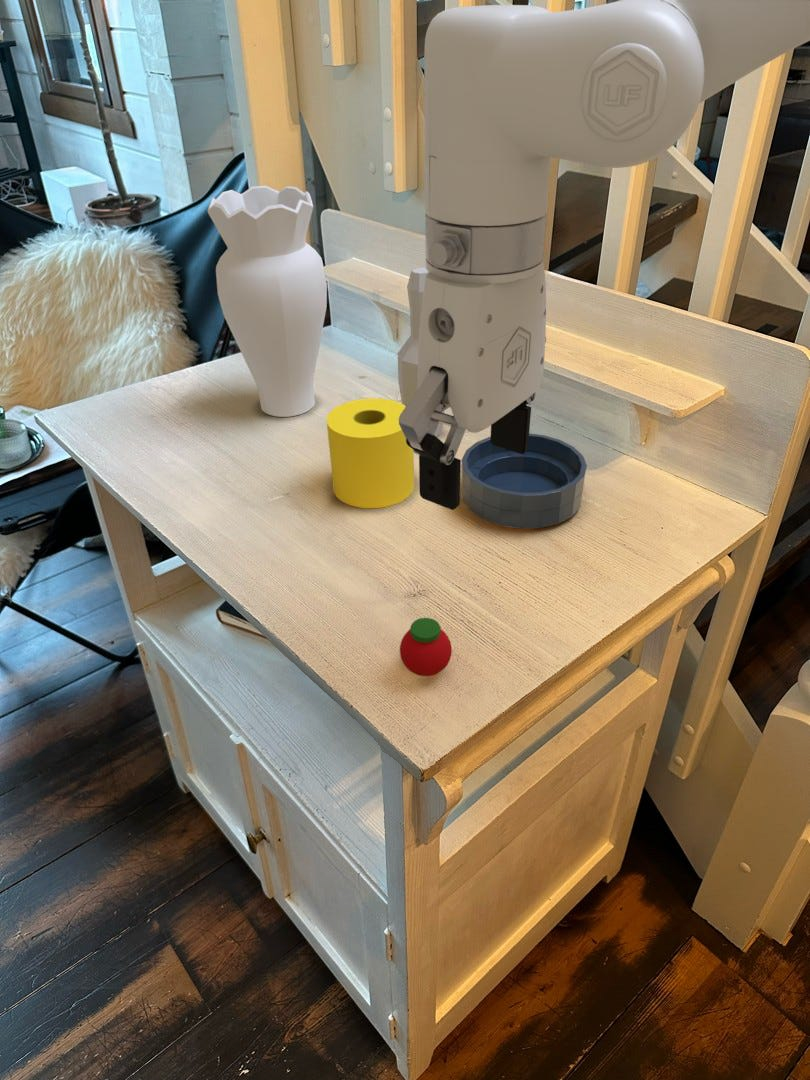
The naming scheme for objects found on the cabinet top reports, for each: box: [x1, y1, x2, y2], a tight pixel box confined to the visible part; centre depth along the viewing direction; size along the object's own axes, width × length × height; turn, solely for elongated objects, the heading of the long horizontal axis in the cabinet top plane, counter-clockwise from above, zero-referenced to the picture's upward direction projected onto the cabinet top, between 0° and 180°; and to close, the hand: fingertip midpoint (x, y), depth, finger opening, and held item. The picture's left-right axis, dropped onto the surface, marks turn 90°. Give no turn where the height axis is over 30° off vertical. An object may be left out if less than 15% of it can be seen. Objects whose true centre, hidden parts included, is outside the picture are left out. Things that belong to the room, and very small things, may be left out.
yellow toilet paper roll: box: [326, 397, 415, 509], centre depth 91 cm, size 10×10×9 cm
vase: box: [206, 185, 328, 418], centre depth 104 cm, size 15×15×29 cm
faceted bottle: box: [397, 267, 446, 438], centre depth 98 cm, size 6×6×22 cm
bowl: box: [460, 432, 588, 529], centre depth 89 cm, size 14×14×5 cm
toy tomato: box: [399, 617, 453, 677], centre depth 67 cm, size 5×5×5 cm
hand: (475, 473), depth 58 cm, fingers open, 9 cm apart
